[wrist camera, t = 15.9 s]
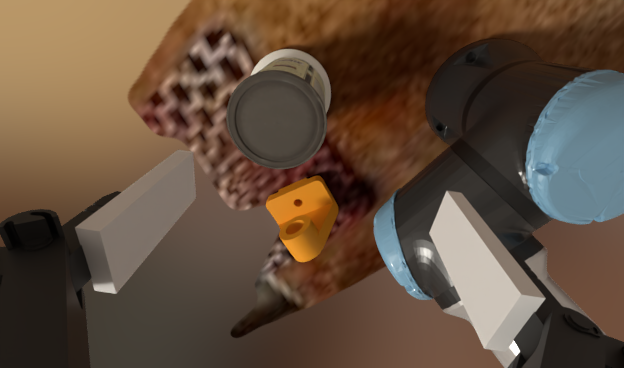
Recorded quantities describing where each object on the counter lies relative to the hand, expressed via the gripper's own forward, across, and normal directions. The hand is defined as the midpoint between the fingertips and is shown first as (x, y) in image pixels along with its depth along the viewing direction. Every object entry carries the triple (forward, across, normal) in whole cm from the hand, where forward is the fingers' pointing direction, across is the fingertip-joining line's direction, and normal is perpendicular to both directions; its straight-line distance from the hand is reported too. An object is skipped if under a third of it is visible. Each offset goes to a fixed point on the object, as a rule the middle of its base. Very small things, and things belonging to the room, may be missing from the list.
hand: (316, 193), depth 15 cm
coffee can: (+30, +5, +1) cm, 30 cm away
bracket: (+31, +1, +20) cm, 37 cm away
